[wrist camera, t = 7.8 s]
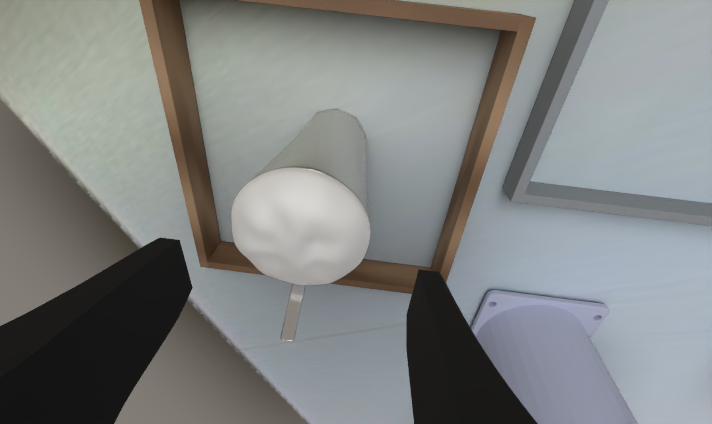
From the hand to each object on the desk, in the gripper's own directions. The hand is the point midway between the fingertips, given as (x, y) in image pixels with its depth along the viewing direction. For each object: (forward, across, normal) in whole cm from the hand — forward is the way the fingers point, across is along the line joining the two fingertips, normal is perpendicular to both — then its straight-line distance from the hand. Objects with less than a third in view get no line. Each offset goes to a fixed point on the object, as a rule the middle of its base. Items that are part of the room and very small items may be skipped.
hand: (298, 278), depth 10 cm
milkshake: (+10, 0, 0) cm, 10 cm away
